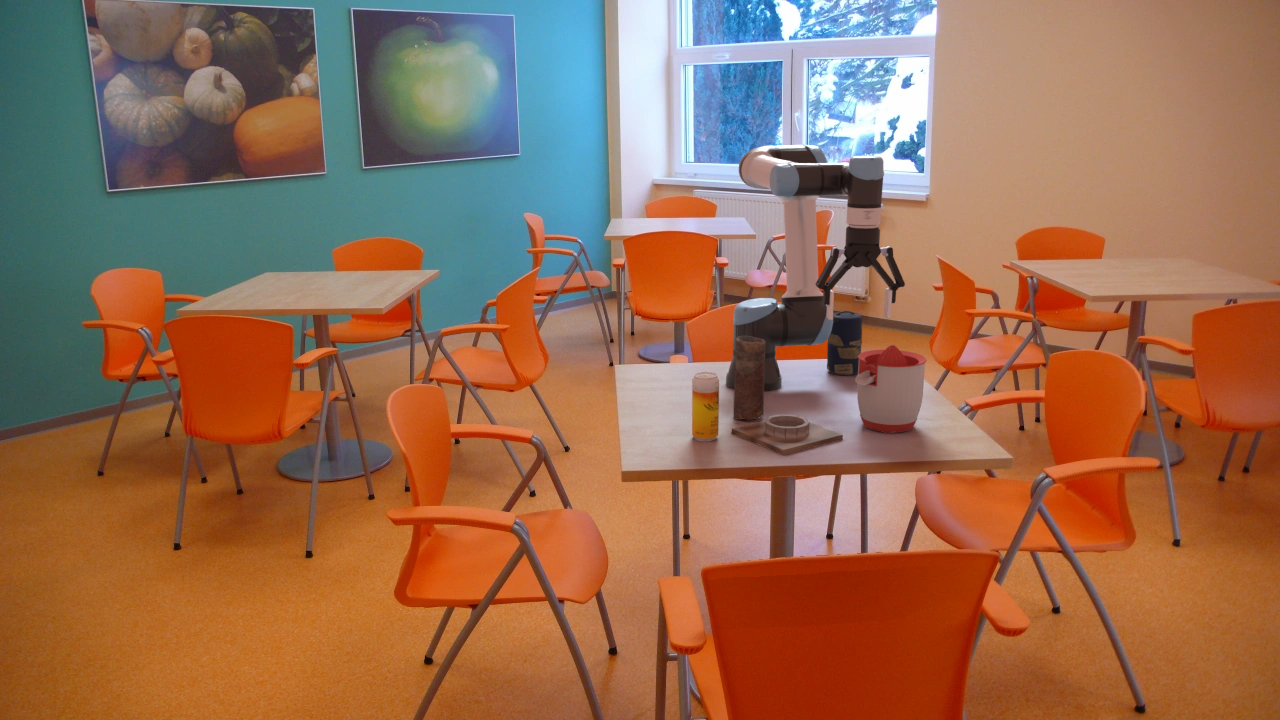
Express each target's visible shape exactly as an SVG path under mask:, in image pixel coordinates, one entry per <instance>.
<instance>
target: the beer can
mask: <svg viewBox="0 0 1280 720" xmlns="http://www.w3.org/2000/svg"><path fill="white" fill-rule="evenodd" d="M691 383H692V384H691V386H692V387H691V388H692V389H691V392H692V393H691V395H692V396H691V435H692V437H693V438H694V439H695V440H696V441H699V442H712V441H715V440H716V439H717V438H718V436H719V426H720V425H719V422H720V421H719V420H720V419H719V418H720V417H719V410H720V409H719V408H720V403H719V402H720V379H719V376H718V374H716V373H715V372H714V373H713V372H710V371H709V372H707V371H704V372H703V371H701V372H697V373H694V374H693V378H692V382H691Z"/></svg>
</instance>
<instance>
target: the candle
mask: <svg viewBox="0 0 1280 720" xmlns="http://www.w3.org/2000/svg"><path fill="white" fill-rule="evenodd" d="M764 377H765V340H763V339H760V338H756V337H752V336H738V337H737V338H736V359H735V387H734V389H733V392H734V394H733V418H734V419H737V420H747V421H751V420H755V419H759V418H761V417H762V416H763V415H764V414H765V413H764V412H765V411H764V410H765V409H764V408H765V391H764Z"/></svg>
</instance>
